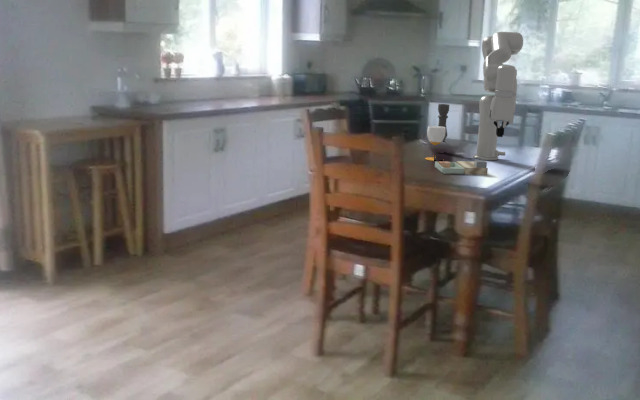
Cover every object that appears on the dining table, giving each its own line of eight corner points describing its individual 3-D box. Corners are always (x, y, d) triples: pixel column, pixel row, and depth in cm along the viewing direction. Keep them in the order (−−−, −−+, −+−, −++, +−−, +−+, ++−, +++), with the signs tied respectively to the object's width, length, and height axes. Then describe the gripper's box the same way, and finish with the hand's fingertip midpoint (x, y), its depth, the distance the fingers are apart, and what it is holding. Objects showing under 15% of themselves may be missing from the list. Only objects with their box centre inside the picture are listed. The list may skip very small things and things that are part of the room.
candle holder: (446, 151, 357) (450, 104, 351) (444, 153, 351) (449, 105, 345) (435, 150, 359) (438, 103, 353) (433, 152, 353) (436, 104, 347)
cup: (439, 161, 326) (441, 128, 322) (421, 159, 331) (424, 126, 327) (446, 159, 334) (449, 127, 330) (429, 157, 338) (431, 125, 334)
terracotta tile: (438, 161, 310) (438, 166, 311) (440, 162, 306) (440, 168, 307) (448, 161, 311) (447, 166, 311) (450, 163, 306) (450, 168, 307)
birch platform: (477, 168, 314) (477, 161, 313) (487, 175, 298) (487, 168, 297) (455, 167, 313) (456, 161, 312) (464, 174, 298) (465, 167, 297)
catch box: (454, 167, 313) (455, 162, 312) (463, 174, 297) (464, 168, 297) (434, 166, 313) (435, 161, 312) (442, 173, 297) (442, 168, 296)
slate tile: (483, 165, 303) (484, 160, 302) (486, 167, 299) (486, 162, 298) (473, 165, 303) (474, 160, 302) (476, 167, 298) (476, 161, 298)
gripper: (517, 94, 298) (513, 136, 302) (484, 93, 297) (480, 134, 301) (523, 96, 290) (519, 138, 294) (489, 94, 289) (485, 137, 294)
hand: (499, 136), depth 298 cm, fingers closed
